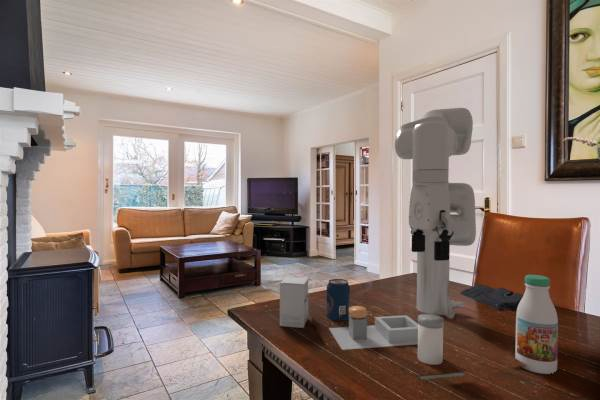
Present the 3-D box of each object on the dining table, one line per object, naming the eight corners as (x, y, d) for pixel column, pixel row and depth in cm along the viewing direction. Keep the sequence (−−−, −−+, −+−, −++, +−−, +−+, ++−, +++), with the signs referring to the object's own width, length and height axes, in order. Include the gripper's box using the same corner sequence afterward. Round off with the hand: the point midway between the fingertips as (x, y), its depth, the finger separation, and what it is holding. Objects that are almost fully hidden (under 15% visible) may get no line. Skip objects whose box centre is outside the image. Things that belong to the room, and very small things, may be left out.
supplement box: (304, 328, 99) (304, 284, 98) (278, 326, 100) (278, 282, 100) (308, 319, 106) (309, 277, 106) (285, 317, 108) (285, 276, 107)
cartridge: (434, 355, 81) (435, 313, 81) (448, 367, 76) (449, 322, 75) (412, 357, 80) (413, 314, 80) (425, 369, 75) (425, 323, 74)
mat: (438, 353, 84) (438, 351, 84) (464, 375, 74) (464, 372, 74) (398, 356, 82) (398, 354, 82) (420, 379, 72) (420, 376, 72)
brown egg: (363, 326, 92) (363, 305, 92) (368, 333, 88) (369, 311, 88) (346, 327, 91) (346, 306, 91) (352, 334, 87) (352, 312, 87)
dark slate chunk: (490, 291, 137) (490, 279, 137) (541, 309, 116) (541, 295, 116) (456, 294, 134) (456, 281, 133) (503, 313, 112) (503, 298, 112)
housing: (411, 328, 99) (411, 305, 99) (436, 348, 86) (436, 322, 86) (328, 333, 95) (328, 309, 95) (342, 356, 82) (342, 328, 82)
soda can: (323, 318, 107) (323, 279, 107) (344, 316, 109) (344, 277, 108) (330, 326, 100) (331, 284, 100) (353, 324, 102) (353, 283, 101)
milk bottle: (507, 358, 81) (508, 272, 81) (538, 357, 82) (540, 272, 81) (532, 376, 73) (533, 281, 73) (566, 374, 74) (568, 280, 74)
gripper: (396, 179, 85) (396, 249, 86) (436, 177, 68) (435, 264, 69) (425, 179, 87) (424, 248, 87) (470, 178, 70) (469, 263, 70)
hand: (429, 255), depth 78 cm, fingers open, 9 cm apart
